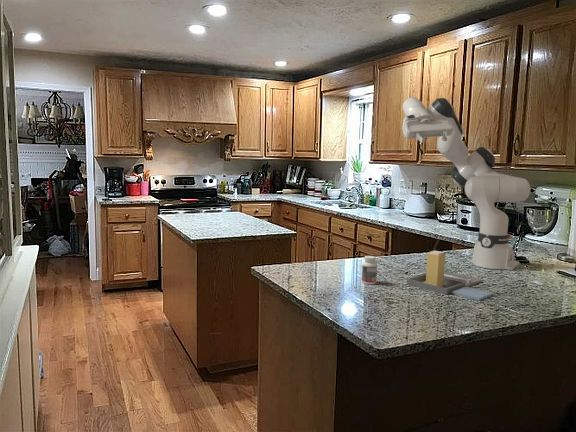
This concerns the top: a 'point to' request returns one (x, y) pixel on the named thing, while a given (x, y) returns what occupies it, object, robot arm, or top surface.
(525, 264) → the top surface
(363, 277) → the pill bottle
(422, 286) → the case
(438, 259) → the block
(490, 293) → the mat
